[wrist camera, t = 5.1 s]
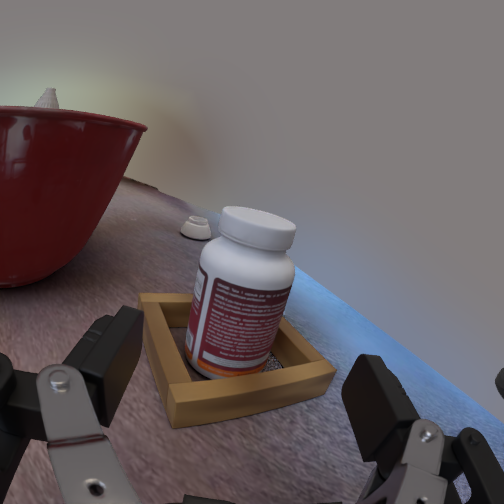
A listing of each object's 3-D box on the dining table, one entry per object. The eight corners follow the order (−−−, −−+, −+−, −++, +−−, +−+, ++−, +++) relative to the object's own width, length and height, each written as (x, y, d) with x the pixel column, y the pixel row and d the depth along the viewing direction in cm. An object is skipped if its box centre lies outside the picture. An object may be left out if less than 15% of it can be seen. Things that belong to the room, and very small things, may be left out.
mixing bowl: (-79, 231, 20) (-75, 118, 15) (74, 215, 43) (88, 121, 38) (-107, 366, 6) (-144, 119, 1) (177, 296, 29) (210, 135, 24)
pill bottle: (279, 365, 22) (326, 232, 19) (226, 400, 17) (273, 237, 14) (222, 327, 26) (253, 203, 22) (166, 348, 21) (190, 201, 17)
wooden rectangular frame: (253, 315, 29) (260, 293, 28) (324, 394, 20) (337, 370, 19) (136, 318, 23) (138, 292, 22) (172, 429, 14) (175, 402, 13)
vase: (52, 162, 91) (66, 91, 83) (50, 166, 82) (66, 87, 74) (24, 161, 84) (37, 89, 75) (19, 165, 74) (34, 85, 66)
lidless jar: (180, 229, 50) (179, 238, 46) (184, 212, 49) (183, 219, 45) (209, 234, 51) (211, 243, 47) (212, 217, 51) (215, 225, 46)
